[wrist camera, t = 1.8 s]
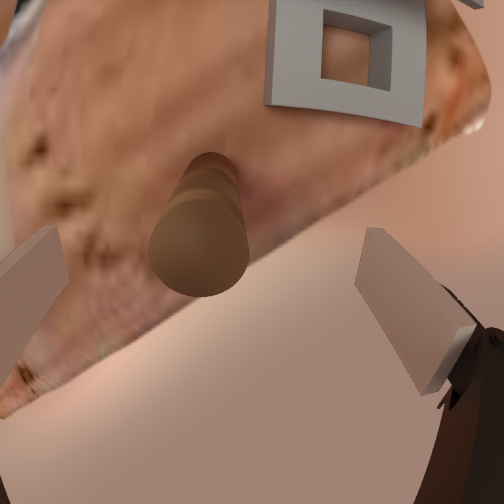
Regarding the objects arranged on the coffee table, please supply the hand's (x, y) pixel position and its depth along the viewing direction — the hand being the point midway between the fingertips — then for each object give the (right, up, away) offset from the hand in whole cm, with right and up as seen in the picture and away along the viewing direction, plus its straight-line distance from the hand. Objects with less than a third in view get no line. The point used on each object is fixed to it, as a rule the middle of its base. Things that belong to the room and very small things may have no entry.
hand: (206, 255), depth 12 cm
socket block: (+9, +19, +7) cm, 22 cm away
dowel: (-2, +6, +12) cm, 14 cm away
